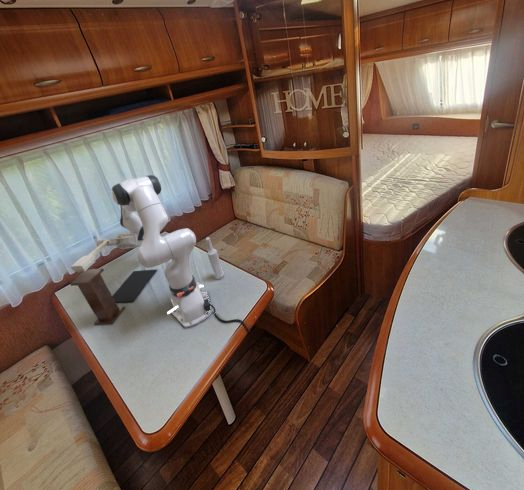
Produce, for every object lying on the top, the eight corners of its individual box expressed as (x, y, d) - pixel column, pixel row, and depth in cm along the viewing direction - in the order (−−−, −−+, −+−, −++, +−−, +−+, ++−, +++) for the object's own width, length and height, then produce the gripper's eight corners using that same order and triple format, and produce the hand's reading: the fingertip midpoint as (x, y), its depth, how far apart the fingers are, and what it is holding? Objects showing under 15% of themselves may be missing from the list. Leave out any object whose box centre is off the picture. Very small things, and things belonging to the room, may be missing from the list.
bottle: (222, 279, 146) (210, 241, 136) (213, 279, 148) (201, 241, 137) (225, 273, 151) (214, 235, 141) (217, 273, 152) (205, 236, 142)
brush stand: (112, 324, 131) (88, 282, 121) (94, 324, 133) (69, 283, 123) (124, 308, 140) (103, 268, 130) (107, 308, 142) (85, 269, 132)
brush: (85, 271, 122) (81, 265, 121) (74, 272, 123) (70, 266, 122) (114, 244, 142) (112, 238, 140) (105, 245, 143) (102, 239, 142)
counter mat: (133, 302, 143) (132, 301, 143) (107, 303, 147) (106, 302, 146) (156, 270, 167) (156, 269, 166) (134, 272, 170) (133, 271, 169)
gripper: (107, 237, 155) (87, 238, 142) (139, 233, 151) (121, 234, 138) (108, 248, 155) (88, 250, 141) (139, 245, 150) (122, 247, 137)
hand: (104, 242), depth 139 cm, fingers closed on brush, 2 cm apart
